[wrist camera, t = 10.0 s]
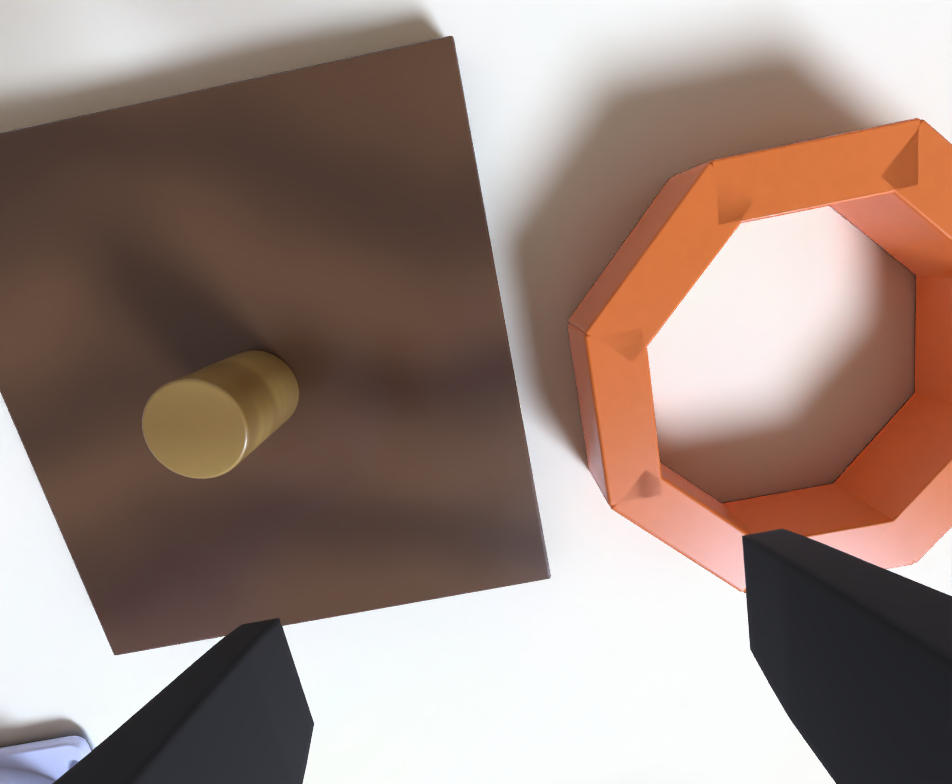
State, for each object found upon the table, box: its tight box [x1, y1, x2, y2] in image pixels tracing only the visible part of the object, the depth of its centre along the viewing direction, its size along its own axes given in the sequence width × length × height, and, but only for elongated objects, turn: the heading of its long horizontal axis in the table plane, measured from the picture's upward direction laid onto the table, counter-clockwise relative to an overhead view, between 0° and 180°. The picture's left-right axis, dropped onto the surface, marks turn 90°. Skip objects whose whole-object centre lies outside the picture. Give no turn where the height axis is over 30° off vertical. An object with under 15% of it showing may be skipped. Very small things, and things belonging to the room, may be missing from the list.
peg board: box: [0, 36, 551, 655], centre depth 14 cm, size 16×15×5 cm
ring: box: [567, 118, 952, 593], centre depth 15 cm, size 12×12×3 cm
